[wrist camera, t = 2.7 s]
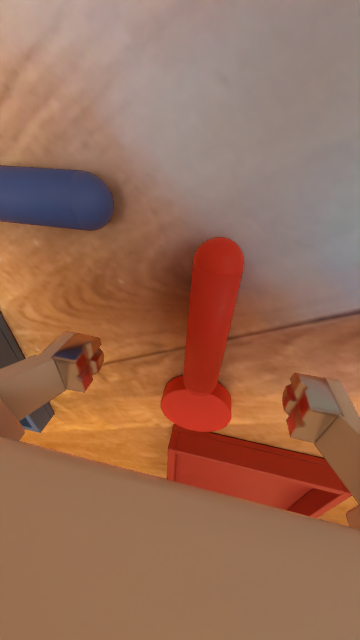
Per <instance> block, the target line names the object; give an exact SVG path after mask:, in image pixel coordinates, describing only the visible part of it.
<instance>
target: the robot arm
mask: <svg viewBox="0 0 360 640" xmlns="http://www.w3.org/2000/svg"><path fill="white" fill-rule="evenodd" d="M101 345H102V344H101V340H100V338H98V337H94V336H89V335H84V334H79V333H73V332H68V331H66V332H63V333H62V334H61V335H60V336H59V337H58V338H57V339H56V340H55V341H53V342H52V343H51V344H50V345H49V346H48V347H47V348H46V349H45V350H44V351H43V352H42V353H41V354H39V355H38V356H37V355H34V356H31V357H29V358H26V359H24V360H21V361H19V362H16V363H14V364H11V365H9V366H6V367H4V368H1V369H0V640H360V417H359V415H358V413H357V411H356V410H355V408H354V406H353V404H352V402H351V400H350V399H349V397H348V395H347V393H346V391H345V389H344V387H343V386H342V384H341V382H340V381H338V380H336V379H330V378H324V377H323V378H322V377H317V376H311V375H306V374H300V373H294V374H293V375H292V376H291V378H290V381H291V384H290V385H288V386H286V387H285V390H284V392H283V397H282V401H283V408H284V410H285V412H286V413H287V414H288V415H289V417H288V418H287V420H286V421H287V425H288V429H289V434H290V437H291V438H295V439H299V440H303V441H307V442H312V443H315V444H314V445H315V446H316V447H317V449H318V450H319V451H320V453H321V454H322V455H323V457H324V458H325V459H326V461H327V462H328V463H329V465H330V466H331V467H332V469H333V470H334V471H335V473H336V474H337V475H338V477H339V478H340V479H341V481H342V482H343V484H344V485H345V486H346V488H347V489H348V490H349V492H350V493H351V494H352V496H353V497H354V498H355V500H356V501H357V502H358V504H359V505H358V506H356V507H354V508H352V509H351V510H349V511H348V512H347V513H346V517H347V520H348V523H349V526H350V527H349V526H345V525H341V524H337V523H333V522H329V521H326V520H322V519H318V518H314V517H310V516H306V515H303V514H299V513H295V512H291V511H287V510H283V509H279V508H276V507H272V506H268V505H264V504H260V503H256V502H253V501H249V500H245V499H241V498H237V497H233V496H229V495H226V494H222V493H218V492H214V491H210V490H206V489H203V488H199V487H195V486H191V485H187V484H183V483H179V482H176V481H172V480H168V479H164V478H160V477H156V476H153V475H149V474H145V473H141V472H137V471H133V470H129V469H126V468H122V467H118V466H114V465H110V464H106V463H102V462H99V461H95V460H91V459H87V458H83V457H79V456H76V455H72V454H68V453H64V452H60V451H56V450H52V449H49V448H45V447H41V446H37V445H33V444H29V443H25V442H22V441H19V440H20V439H21V437H22V436H23V435H24V434H25V430H24V428H23V427H22V425H21V424H20V423H19V421H20V420H22V419H23V418H25V417H26V416H28V415H29V414H31V413H32V412H34V411H35V410H37V409H38V408H40V407H41V406H43V405H44V404H46V403H47V402H49V401H50V400H52V399H53V398H55V397H56V396H58V395H59V394H61V393H62V392H64V391H65V390H66V389H68V390H73V391H79V392H84V393H85V391H86V390H87V388H88V387H89V385H90V384H91V382H92V381H93V377H92V375H94V374H96V373H98V372H99V370H100V369H101V367H102V364H103V361H104V354H103V351H102V350H101V349H100V348H99V347H100V346H101Z"/></svg>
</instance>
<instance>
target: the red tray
mask: <svg viewBox="0 0 360 640" xmlns="http://www.w3.org/2000/svg"><path fill="white" fill-rule="evenodd" d="M167 479H168V480H172V481H176V482H179V483H183V484H187V485H191V486H195V487H199V488H203V489H206V490H210V491H214V492H218V493H222V494H226V495H229V496H233V497H237V498H241V499H245V500H249V501H253V502H256V503H260V504H264V505H268V506H272V507H276V508H279V509H283V510H287V511H291V512H295V513H299V514H303V515H306V516H310V517H314V518H317V517H319V516H321V515H322V514H324V513H325V512H327V511H328V510H330V509H332V508H333V507H335V506H336V505H338V504H339V503H341V502H343V501H344V500H346V499H347V498H349V497H350V496H352V494H351V493H350V492H349V490H348V489H347V488H346V486H345V485H344V484H343V482H342V481H341V479H340V478H339V477H338V475H337V474H336V473H335V471H334V470H333V469H332V467H331V466H330V465H329V463H328V462H327V461H326V459H323V458H319V457H314V456H310V455H306V454H301V453H297V452H292V451H288V450H284V449H279V448H275V447H270V446H266V445H262V444H257V443H253V442H249V441H244V440H240V439H235V438H231V437H227V436H222V435H218V434H214V433H209V432H199V431H193V430H189V429H186V428H183V427H180V426H178V425H173V430H172V434H171V438H170V442H169V447H168V468H167Z"/></svg>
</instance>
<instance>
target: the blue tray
mask: <svg viewBox="0 0 360 640" xmlns="http://www.w3.org/2000/svg"><path fill="white" fill-rule="evenodd" d="M24 359H25V358H24V356H23V354H22V352H21V350H20V349H19V347H18V345H17V343H16V341H15V339H14V337H13V335H12V334H11V332H10V330H9V328H8V326H7V324H6V322H5V321H4V319H3V317H2V315H1V313H0V369H1V368H4V367H6V366H9V365H11V364H14V363H16V362H19V361H21V360H24ZM53 415H54V412H53V410H52V408H51V406H50V404H49V403H48V402H47V403H46V404H44V405H43V406H41V407H40V408H38V409H37V410H35V411H34V412H32V413H31V414H29V415H28V416H26V417H25V418H23V419H22V420H20V421H19V423H20V424H21V425H22V427H23V428H24V429H27V430H31V431H35V432H39V433H41V431H42V430H43V429H44V427H45V426H46V425H47V423H48V422H49V421H50V419H51V418H52V417H53Z"/></svg>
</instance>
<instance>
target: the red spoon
mask: <svg viewBox="0 0 360 640" xmlns="http://www.w3.org/2000/svg"><path fill="white" fill-rule="evenodd" d="M243 268H244V256H243V253H242V251H241V249H240V247H239V246H238V245H237V244H236V243H235V242H234V241H232V240H230V239H228V238H224V237H216V238H212V239H209V240H207V241H206V242H204V243H203V244H202V245H201V246H200V247H199V248H198V250H197V251H196V253H195V256H194V260H193V268H192V280H191V292H190V303H189V315H188V327H187V339H186V350H185V362H184V374H183V376H180V377H177V378H174V379H172V380H171V381H170V382H169V383H168V384H167V385H166V387H165V390H164V393H163V397H162V400H161V409H162V411H163V413H164V415H165V416H166V417H167V418H168V419H169V420H170V421H172V422H173V423H175V424H176V425H178V426H180V427H183V428H186V429H189V430H193V431H199V432H212V431H217V430H220V429H222V428H224V427H225V426H227V425H228V423H229V422H230V420H231V397H230V395H229V393H228V391H227V390H226V389H225V388H224V387H223V386H222V385H221V384H219V383H218V382H217V380H218V376H219V372H220V367H221V363H222V359H223V355H224V350H225V346H226V342H227V337H228V333H229V329H230V324H231V320H232V316H233V311H234V307H235V303H236V299H237V294H238V290H239V286H240V281H241V277H242V273H243Z"/></svg>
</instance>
